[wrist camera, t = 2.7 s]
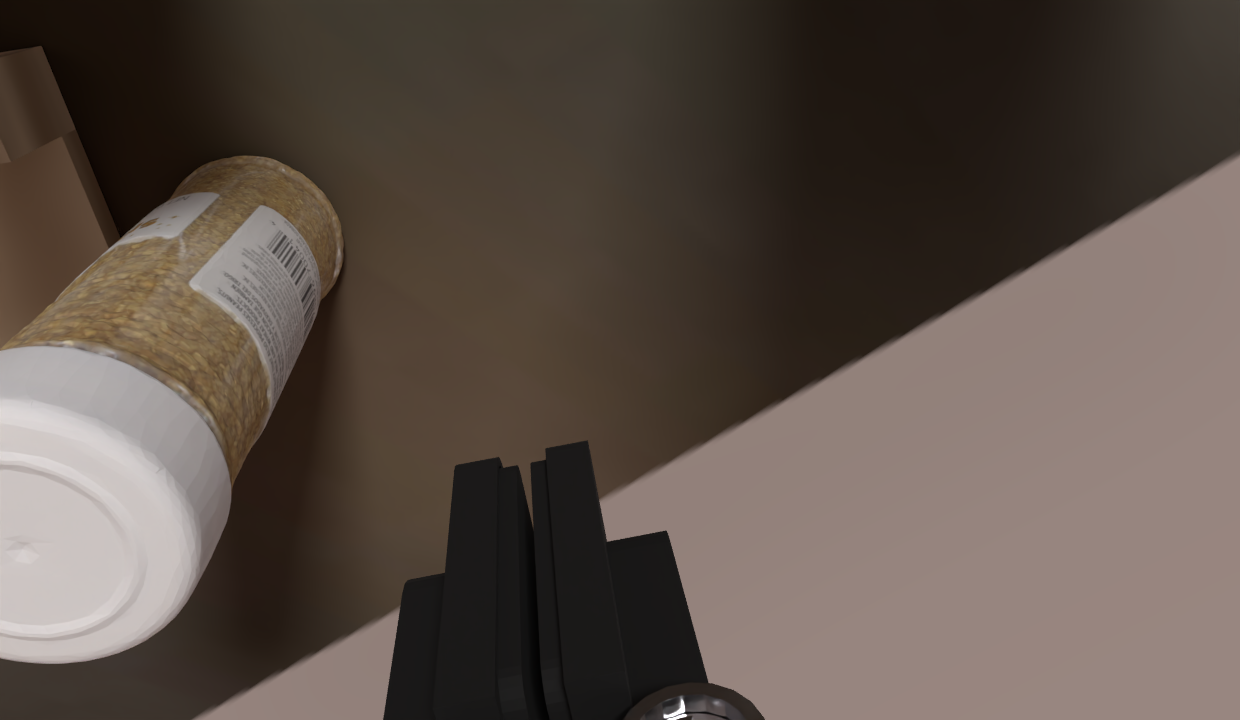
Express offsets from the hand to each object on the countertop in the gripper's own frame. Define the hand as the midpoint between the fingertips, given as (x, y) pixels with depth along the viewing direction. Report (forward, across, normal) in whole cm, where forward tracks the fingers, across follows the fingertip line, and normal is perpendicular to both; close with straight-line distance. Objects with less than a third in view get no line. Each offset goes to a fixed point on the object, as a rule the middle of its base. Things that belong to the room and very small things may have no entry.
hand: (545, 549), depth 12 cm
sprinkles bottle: (+15, +7, -1) cm, 17 cm away
